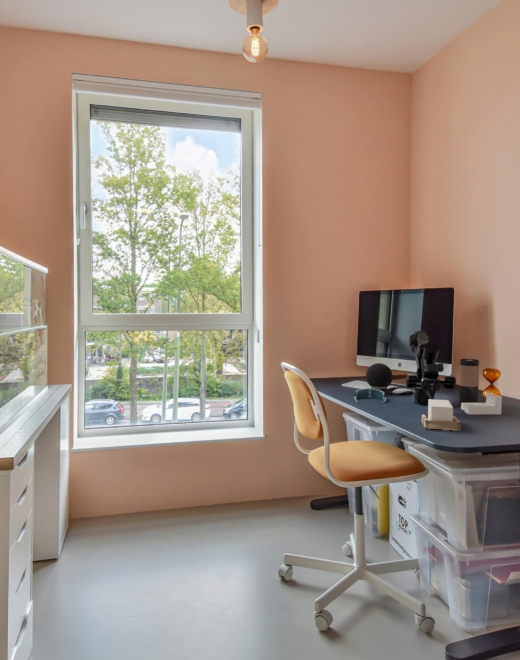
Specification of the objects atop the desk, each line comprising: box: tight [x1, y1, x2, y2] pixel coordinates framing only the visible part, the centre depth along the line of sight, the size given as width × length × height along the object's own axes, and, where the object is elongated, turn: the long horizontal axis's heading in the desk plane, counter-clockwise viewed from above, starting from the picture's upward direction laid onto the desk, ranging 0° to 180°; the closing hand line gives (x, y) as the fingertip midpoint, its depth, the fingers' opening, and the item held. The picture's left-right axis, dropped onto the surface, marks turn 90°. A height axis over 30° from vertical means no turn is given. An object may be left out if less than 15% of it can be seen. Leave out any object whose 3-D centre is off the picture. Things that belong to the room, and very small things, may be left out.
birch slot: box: [421, 414, 462, 432], centre depth 167 cm, size 10×12×3 cm
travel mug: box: [458, 358, 480, 406], centre depth 206 cm, size 8×8×20 cm
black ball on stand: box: [365, 362, 394, 395], centre depth 236 cm, size 13×13×15 cm
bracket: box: [460, 392, 503, 415], centre depth 191 cm, size 13×7×8 cm, turn 91°
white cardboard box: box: [427, 398, 454, 421], centre depth 170 cm, size 14×7×8 cm, turn 165°
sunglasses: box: [353, 387, 387, 404], centre depth 216 cm, size 14×15×5 cm
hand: (432, 399), depth 186 cm, fingers closed
